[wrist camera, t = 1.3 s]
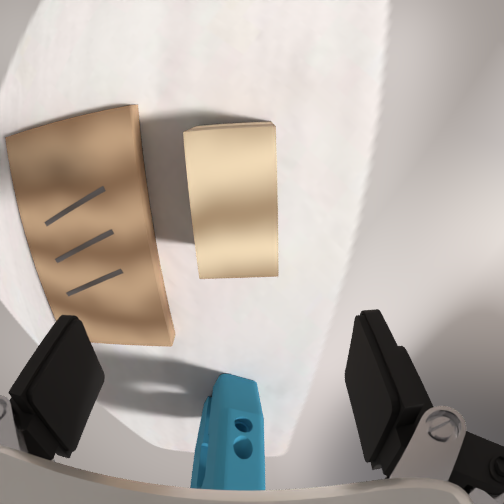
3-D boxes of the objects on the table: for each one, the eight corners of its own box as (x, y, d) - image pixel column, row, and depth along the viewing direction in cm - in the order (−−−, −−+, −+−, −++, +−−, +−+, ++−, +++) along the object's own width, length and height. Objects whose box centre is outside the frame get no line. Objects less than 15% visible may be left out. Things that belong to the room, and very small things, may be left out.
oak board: (17, 134, 25) (4, 137, 23) (137, 104, 24) (129, 105, 22) (71, 329, 35) (64, 340, 33) (175, 334, 35) (171, 346, 33)
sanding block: (197, 125, 25) (182, 132, 20) (270, 121, 25) (275, 126, 20) (208, 245, 30) (199, 278, 25) (273, 242, 30) (278, 276, 25)
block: (231, 422, 42) (225, 548, 24) (198, 414, 42) (182, 542, 24) (265, 373, 37) (270, 530, 20) (225, 362, 37) (212, 525, 19)
